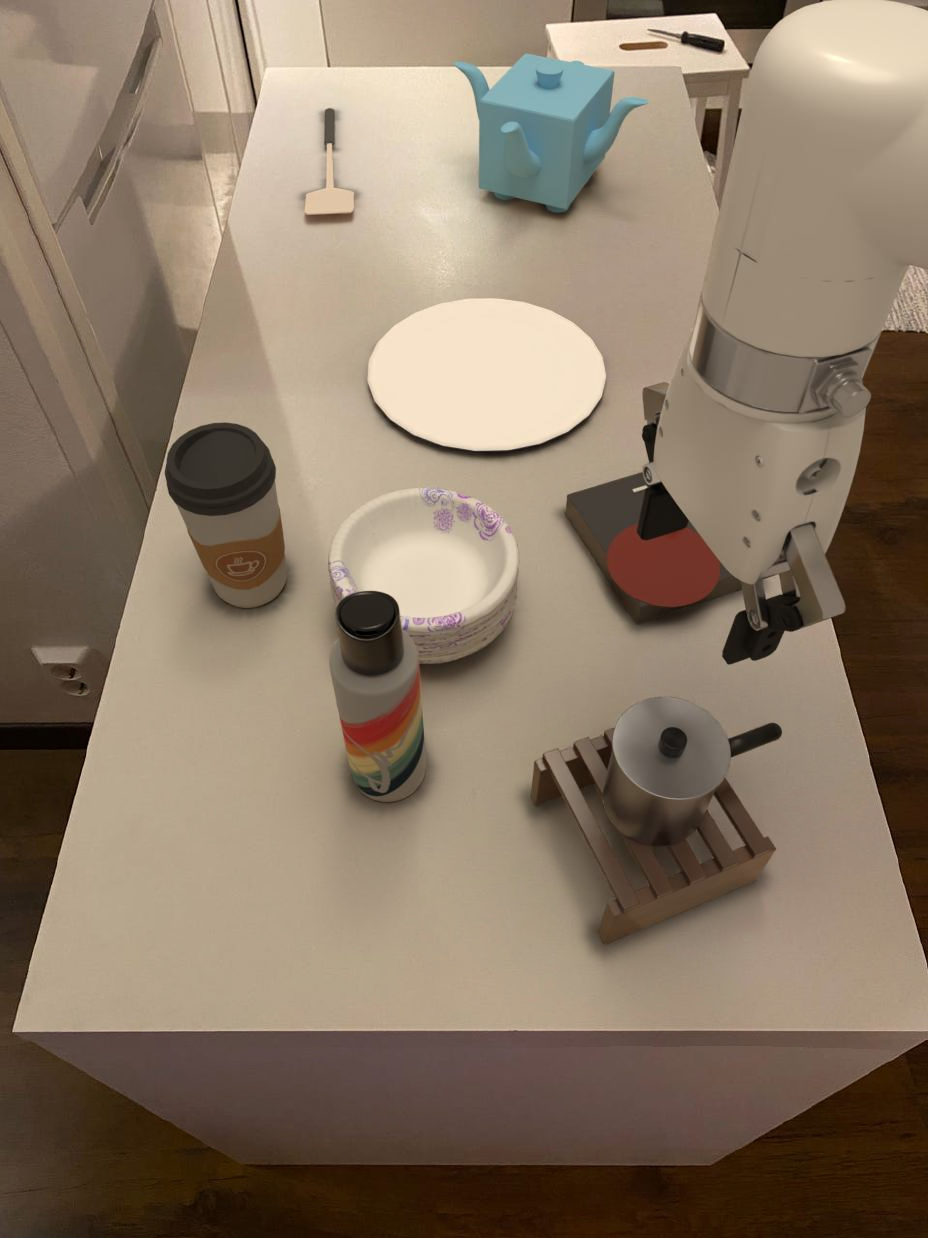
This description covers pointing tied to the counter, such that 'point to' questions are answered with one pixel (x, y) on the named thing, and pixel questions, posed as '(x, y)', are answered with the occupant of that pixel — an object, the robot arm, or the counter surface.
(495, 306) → the plate
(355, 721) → the lotion bottle
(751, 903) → the counter surface
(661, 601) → the burner ring
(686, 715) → the saucepan
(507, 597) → the paper bowls
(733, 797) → the drying rack
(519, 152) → the teakettle
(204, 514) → the coffee cup
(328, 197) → the spatula
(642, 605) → the hob
